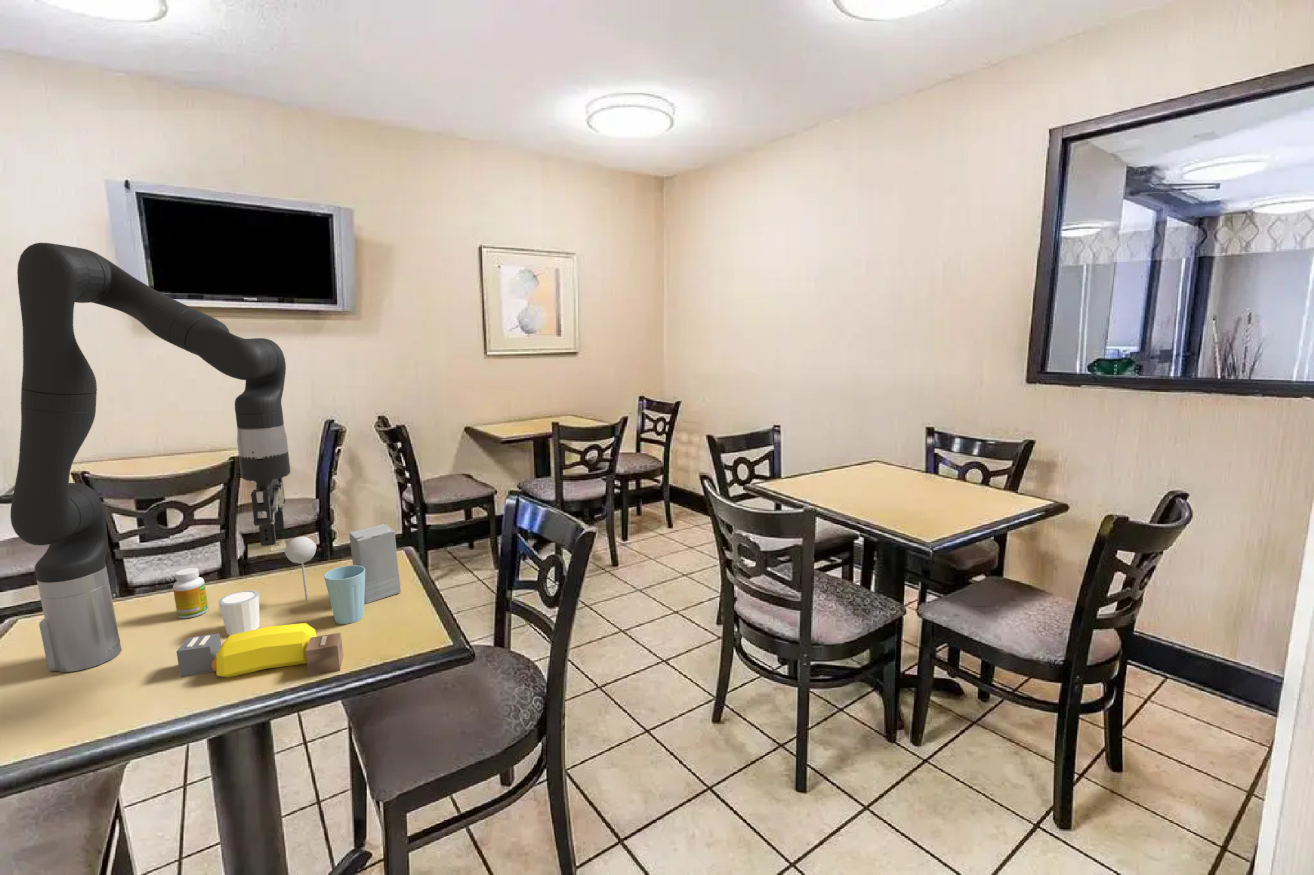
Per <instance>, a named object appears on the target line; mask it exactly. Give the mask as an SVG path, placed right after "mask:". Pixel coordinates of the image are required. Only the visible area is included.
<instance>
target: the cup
mask: <svg viewBox="0 0 1314 875" xmlns="http://www.w3.org/2000/svg"><path fill="white" fill-rule="evenodd" d="M323 577H324V582H325V586H326V590H327V593H328V598H329V601H330V606H331V610H332V614H333V618H334V621H335V623H336V624H339V625H348V624H349V623H350V624H354V623H356V622H358V621H360V620H361V619H363V618H364V617H365V603H364V596H365V568H364V567H362V566H358V565H353V564H352V565H344V566H339V567H335V568H332V569H330V570H329V571H327V572H325V573H324V575H323Z"/></svg>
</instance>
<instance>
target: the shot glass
mask: <svg viewBox="0 0 1314 875" xmlns="http://www.w3.org/2000/svg"><path fill="white" fill-rule="evenodd" d="M218 605H219V610H220V613H221V616H222V620H223V625H224V628H225V631H226V634H227V635H228V636H230V635H233V634H238V633H242V632H247V631H251V630H255V629H259V627H260V593H259V592H258V591H257V590H252V589H251V590H241V591H236V592H233V593H229V594H227V595H225V596H223V597H222V598H220V599H219V600H218Z"/></svg>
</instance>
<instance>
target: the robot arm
mask: <svg viewBox="0 0 1314 875" xmlns="http://www.w3.org/2000/svg"><path fill="white" fill-rule="evenodd" d="M16 273H17V274H16V275H17V288H18V296H19V297H18V298H19V306H20V314H21V325H22V378H21V390H20V392H21V393H20V416H21V417H20V418H21V421H20V437H19V456H18V464H17V471H16V478H15V483H14V488H13V492H12V493H13V495H12V500H11V503H10V522H11V526H12V528H13V530H14V532H15V534H16V535H17V536H18V537H19V538H20V540H22V541H23V542H25V543H27V544H29V545H33V546H47V545H48V547H47V550H46V551H45V552H44V554H43V555H42V556H41V557H40V558H39V560H38V561H37V562H36V563H35V565H34V574H35V578H36V583H37V590H38V592H39V598H40V602H41V607H42V612H43V616H44V618H43V619H42V620H41V621H40V622H39V624H38V626H39V632H40V635H41V640H42V645H43V650H44V654H45V658H46V664H47V670H48V672H54V671H55V672H56V671H57V672H61V673H62V672H63V673H69V672H76V671H82V670H87V669H90V668H93V667H97V666H100V665H102V664H104V663H107V662H108V661H110V660H112V659H114V658H116V657H117V656H118V655H120V653H121V651H122V646H121V638H120V635H119V627H118V623H117V617H116V614H115V612H116V611H115V608H114V607H115V606H114V603H113V602H114V601H113V596H112V590H111V586H110V580H109V574H108V569H107V563H106V555H107V552H108V551H109V550H108V548H109V539H108V530H107V529H108V528H107V522H106V513H105V509H104V505H103V502H102V499H101V498H100V496H99V494H97V492H96V491H95V490H94V489H93V488H91V487H90V486H88V485H86V484H83V483H79V482H70V475H71V474H70V473H71V469H72V465H73V463H74V460H75V458H76V456H77V455H78V452H79V450H80V449H81V447H82V445H83V444H84V442H85V440H86V438H87V437H88V435H89V433H90V431H91V429H92V426H93V424H94V422H95V418H96V411H97V410H96V409H97V395H98V394H97V391H98V388H97V387H98V386H97V378H96V376H95V373H94V371H93V369H92V367H91V364H90V363H89V361H88V359H87V358H86V356H85V355H84V353H83V351H82V350H81V348H80V345H79V344H78V342H77V339H76V335H75V332H74V331H75V330H74V311H75V304H76V303H79V304H88V303H89V304H90V303H92V304H96V305H101V306H103V307H106V308H109V309H113V310H115V311H120V312H121V313H124V314H126V315H128V316H130V317H132V318H134V319H135V320H136V321H138V322H139V323H141V325H143V327H145V328H146V329H147V330H148V331H150V332H151V333H152V334H153V335H155V336H157V337H158V338H159V339H162V340H163V341H166V342H167V343H169V344H171V345H173V346H176V347H178V348H179V349H181V350H185V351H187V352H189V353H191V354H193V355H196V356H198V357H199V358H201V359H202V360H203V361H204V362H206V364H208V365H210V366H211V367H213V368H214V369H216V370H217V371H219V372H220V373H222V374H223V375H226V376H228V377H230V378H233V379H237V380H240V381H245V384H244V385H245V387H244V391H243V392H242V393H241V394H239V395H238V396H237V397H236V398H235V400H234V412H235V420H236V428H237V436H236V443H237V452H238V454H237V455H238V460H239V469H240V470H239V471H240V477H241V479H243V480H244V481H247V482H251V481H252V482H255V489H253V490H252V491H251V494H250V497H251V506H252V514H253V515H252V516H253V525H254V526H255V527H258V530H259V532H258V533H259V538H260V539H259V540H260V545H261V546H263V547H267V546H274V545H276V542H277V538H276V537H277V536H276V531H283V530H284V529H285V520H284V512H283V511H284V508H285V505H284V504H285V503H286V498H285V490H284V482H283V479H284V477H287V476H289V475H290V474H291V467H290V466H291V465H290V456H289V454H290V453H289V446H288V438H287V437H288V436H287V432H286V429H285V425H284V424H285V423H284V422H285V421H284V414H283V407H282V398H283V392H284V389H285V388H284V387H285V380H286V372H287V370H286V369H287V368H286V367H287V366H286V358H285V355H284V353H283V351H282V349H281V347H280V346H279V345H278V344H277V343H276V342H275V341H273V340H272V339H270V338H265V337H264V338H263V337H256V338H255V337H253V338H244V337H241V336H238V335H236V334H233V333H231V332H230V330H229V328H228V327H227V325H226V324H224V323H223V322H222V321H220V320H219V319H216V318H215V317H212V316H210V315H208V314H206V313H204V312H201V311H199V310H198V309H196V308H194V307H191V306H189V305H186V304H185V303H182V302H181V301H178V300H176V299H174V298H172V297H169V296H168V295H166V294H163V293H162V292H160V291H158V290H156V289H154V288H152V287H151V286H149V285H147V284H146V283H144V282H143V281H140V280H139V279H137V278H136V277H134V276H133V275H131V274H129V273H128V272H126V271H125V270H124V269H122V268H120V266H117V265H116V264H115V263H113V262H112V261H110V260H109V259H107V258H106V257H104V256H103V255H101V254H99V253H97V252H95V251H93V250H90V249H87V248H83V247H77V246H71V245H64V244H58V243H57V244H56V243H50V242H35V243H33V244H31V245H30V244H29V245H28V246H27V247H26V248H25V249H24V250H23V251H22V253H21V254H20V256H19V260H18V263H17V271H16ZM264 514H265V515H266V517H263V516H262V515H264Z"/></svg>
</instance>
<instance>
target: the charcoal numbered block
mask: <svg viewBox="0 0 1314 875" xmlns="http://www.w3.org/2000/svg"><path fill="white" fill-rule="evenodd" d="M220 634H221V633H213V634H206V635H198V636H197V635H196V636H192V637H191V636H190V637H187V638H186V639H185V640H184V642H182V644H181V645H180V647H179V648H178V649H177V650H176V656H177V663H178V664H177V665H178V669H179V674H180V677H182V678H183V677H187V676H188V677H189V676H193V675H194V676H196V675H200V674H206V673H212V672H215V671H214V670H213V668H212V666H211V664H212V662H213V659H214V658H216V657H217V653H218V651H219V649H220V647H221V646H222V640H221V635H220Z"/></svg>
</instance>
